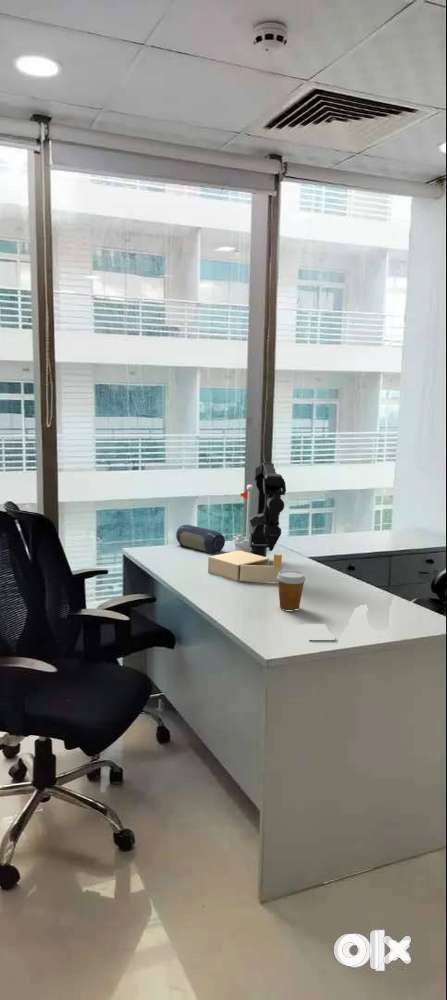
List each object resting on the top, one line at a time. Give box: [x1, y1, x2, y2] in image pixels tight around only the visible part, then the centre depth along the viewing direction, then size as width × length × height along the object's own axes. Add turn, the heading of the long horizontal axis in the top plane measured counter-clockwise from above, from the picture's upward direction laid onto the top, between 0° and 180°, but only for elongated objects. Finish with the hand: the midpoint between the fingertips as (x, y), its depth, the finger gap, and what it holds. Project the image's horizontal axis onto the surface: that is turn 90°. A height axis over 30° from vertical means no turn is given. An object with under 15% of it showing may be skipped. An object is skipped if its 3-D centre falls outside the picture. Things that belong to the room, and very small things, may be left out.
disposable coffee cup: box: [277, 570, 306, 611], centre depth 219 cm, size 10×10×12 cm
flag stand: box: [232, 484, 254, 553], centre depth 301 cm, size 13×13×30 cm
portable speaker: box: [175, 524, 226, 554], centre depth 298 cm, size 25×10×10 cm, turn 49°
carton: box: [207, 550, 270, 583], centre depth 260 cm, size 18×16×6 cm
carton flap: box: [239, 554, 283, 583], centre depth 248 cm, size 16×1×11 cm, turn 91°
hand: (269, 547), depth 252 cm, fingers open, 9 cm apart
